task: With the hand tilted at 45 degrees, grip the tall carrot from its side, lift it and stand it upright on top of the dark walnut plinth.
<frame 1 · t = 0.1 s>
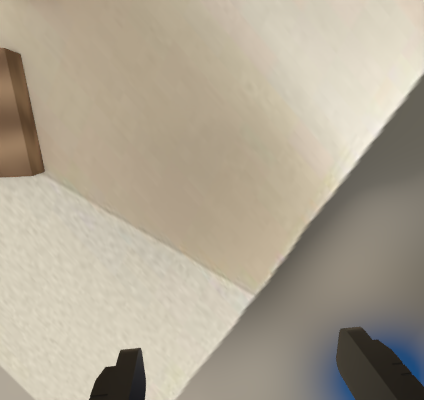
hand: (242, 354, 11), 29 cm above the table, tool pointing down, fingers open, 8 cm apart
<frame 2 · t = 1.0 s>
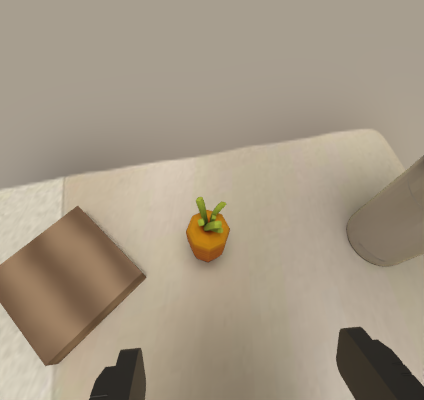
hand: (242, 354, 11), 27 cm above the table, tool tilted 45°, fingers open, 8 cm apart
carrot: (206, 256, 40), on the table
walnut plinth: (73, 280, 38), on the table
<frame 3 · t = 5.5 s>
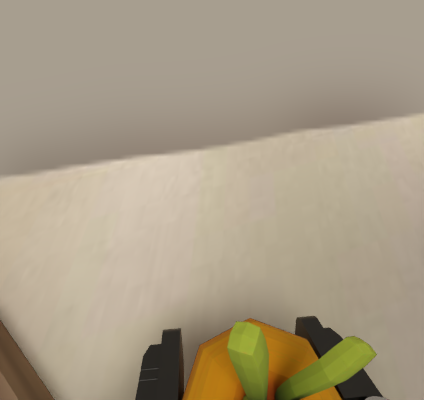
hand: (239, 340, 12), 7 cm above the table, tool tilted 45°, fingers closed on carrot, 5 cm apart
carrot: (228, 374, 17), on the table, touching gripper
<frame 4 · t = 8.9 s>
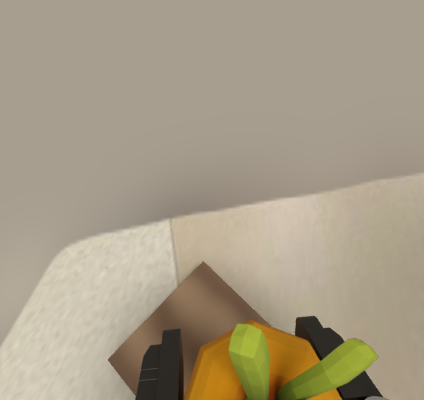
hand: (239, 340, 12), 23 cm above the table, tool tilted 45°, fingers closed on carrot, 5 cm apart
carrot: (229, 375, 17), point 15 cm above the table, touching gripper
walnut plinth: (204, 354, 31), on the table
when the fingers open (11 cm above the table, at t = 12.5 s): carrot drops 1 cm, resting on walnut plinth.
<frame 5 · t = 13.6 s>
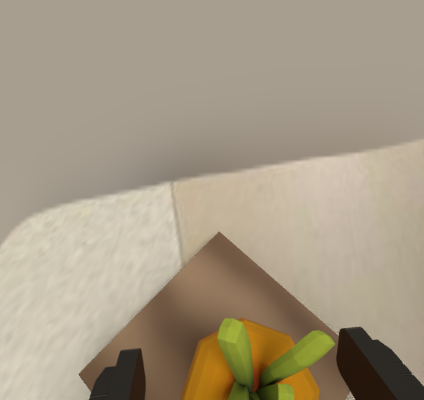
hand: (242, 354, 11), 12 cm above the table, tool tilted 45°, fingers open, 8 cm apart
carrot: (227, 370, 19), point 3 cm above the table, touching walnut plinth
walnut plinth: (223, 364, 21), on the table
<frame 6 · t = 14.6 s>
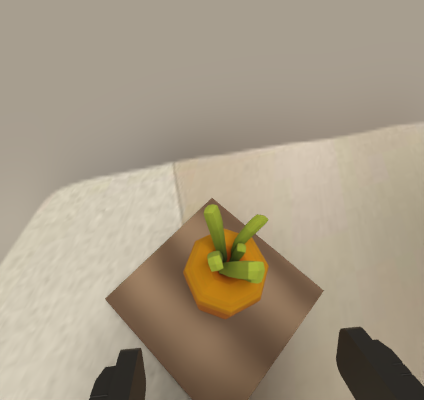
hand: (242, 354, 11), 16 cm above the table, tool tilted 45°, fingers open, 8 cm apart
carrot: (217, 297, 25), point 3 cm above the table, touching walnut plinth
walnut plinth: (215, 299, 27), on the table
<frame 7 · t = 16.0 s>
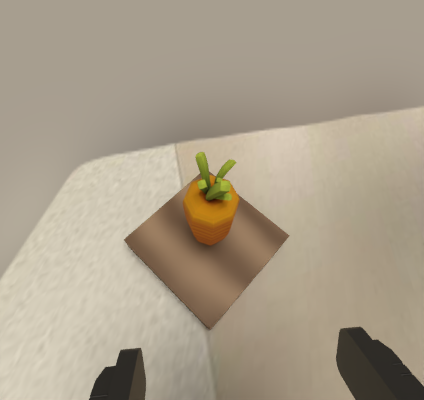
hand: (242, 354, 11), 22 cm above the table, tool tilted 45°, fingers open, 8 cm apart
carrot: (208, 240, 33), point 3 cm above the table, touching walnut plinth
walnut plinth: (207, 245, 36), on the table
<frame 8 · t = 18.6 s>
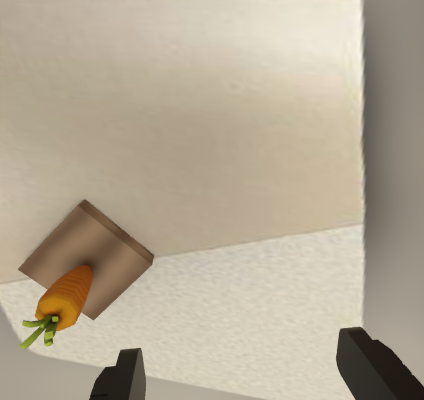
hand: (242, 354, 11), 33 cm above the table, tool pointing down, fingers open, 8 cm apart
carrot: (88, 265, 42), point 3 cm above the table, touching walnut plinth
walnut plinth: (92, 257, 45), on the table
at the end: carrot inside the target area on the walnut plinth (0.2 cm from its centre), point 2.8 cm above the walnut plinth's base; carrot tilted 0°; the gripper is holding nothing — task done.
